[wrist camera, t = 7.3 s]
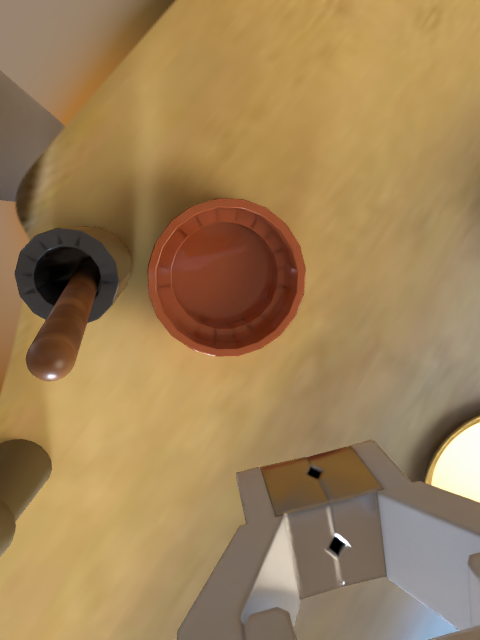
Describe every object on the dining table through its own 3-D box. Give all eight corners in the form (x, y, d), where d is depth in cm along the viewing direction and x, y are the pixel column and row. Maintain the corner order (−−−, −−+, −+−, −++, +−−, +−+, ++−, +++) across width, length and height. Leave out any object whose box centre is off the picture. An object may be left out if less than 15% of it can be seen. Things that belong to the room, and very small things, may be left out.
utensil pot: (47, 287, 39) (4, 310, 29) (67, 215, 38) (29, 213, 28) (120, 309, 40) (102, 338, 31) (141, 240, 39) (130, 247, 29)
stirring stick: (78, 272, 38) (16, 383, 18) (84, 251, 37) (26, 340, 17) (100, 278, 38) (65, 393, 18) (106, 258, 38) (77, 352, 18)
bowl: (134, 316, 40) (127, 331, 35) (176, 180, 38) (176, 173, 33) (261, 355, 43) (273, 373, 38) (308, 230, 41) (328, 231, 36)
